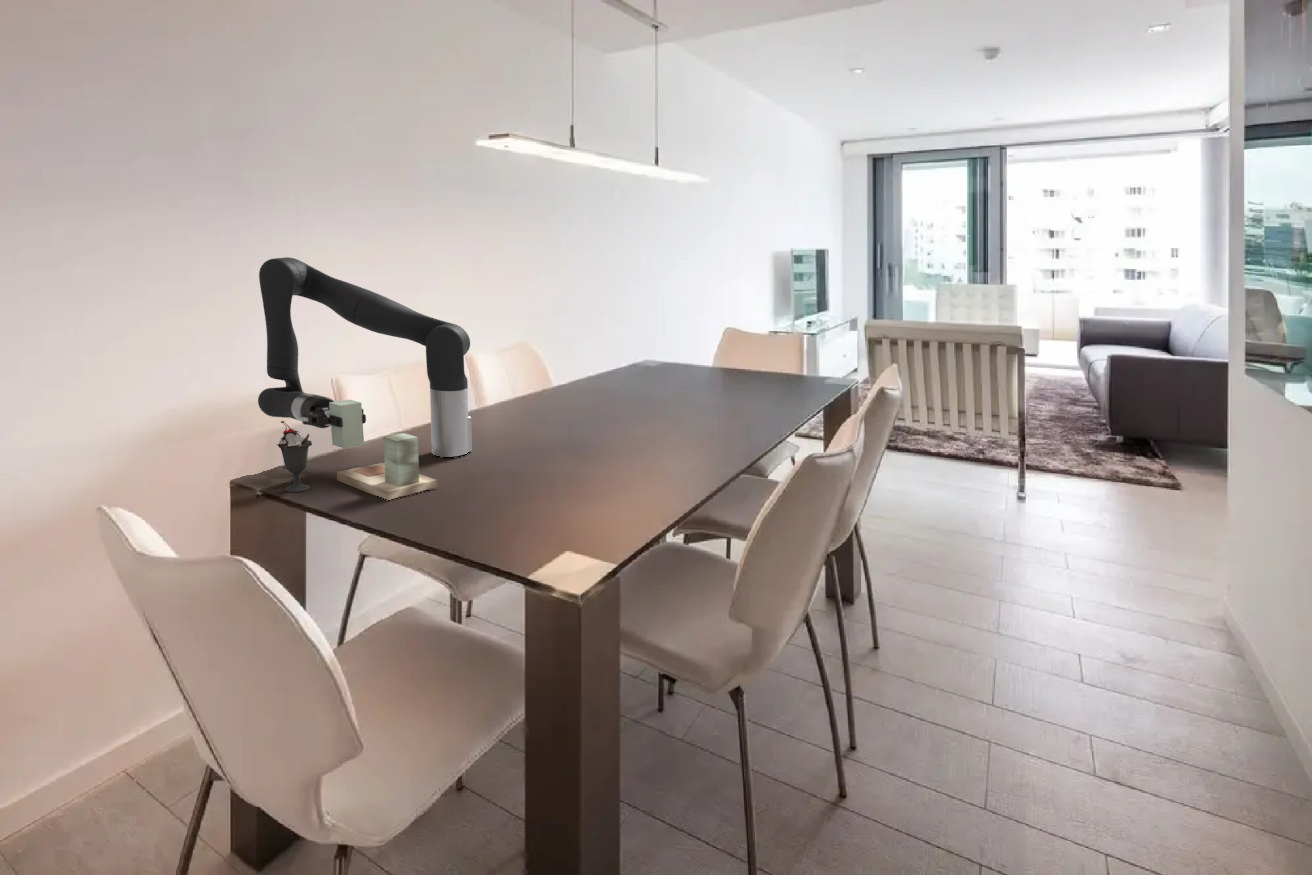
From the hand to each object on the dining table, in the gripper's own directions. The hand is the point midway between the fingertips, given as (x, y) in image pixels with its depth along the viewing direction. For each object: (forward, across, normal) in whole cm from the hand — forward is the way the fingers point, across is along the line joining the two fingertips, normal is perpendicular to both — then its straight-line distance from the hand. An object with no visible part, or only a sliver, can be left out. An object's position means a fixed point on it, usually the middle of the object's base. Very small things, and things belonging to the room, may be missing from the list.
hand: (352, 420), depth 168 cm
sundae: (+3, -15, +12) cm, 20 cm away
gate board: (+13, 0, +12) cm, 18 cm away
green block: (-3, 0, +6) cm, 7 cm away
